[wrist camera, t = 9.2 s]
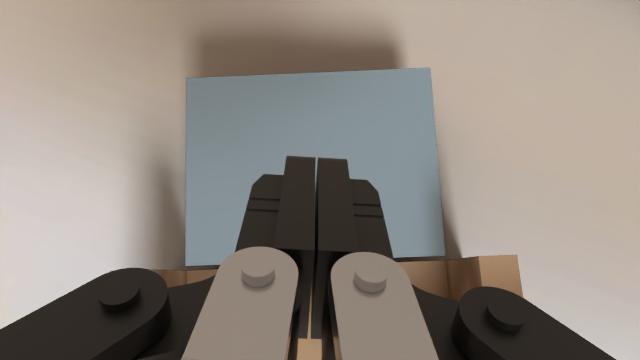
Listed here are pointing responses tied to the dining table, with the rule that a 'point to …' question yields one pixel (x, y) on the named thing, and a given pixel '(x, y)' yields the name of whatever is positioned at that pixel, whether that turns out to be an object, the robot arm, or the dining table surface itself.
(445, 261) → the open wooden box
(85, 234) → the dining table surface
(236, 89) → the flat rectangular panel
